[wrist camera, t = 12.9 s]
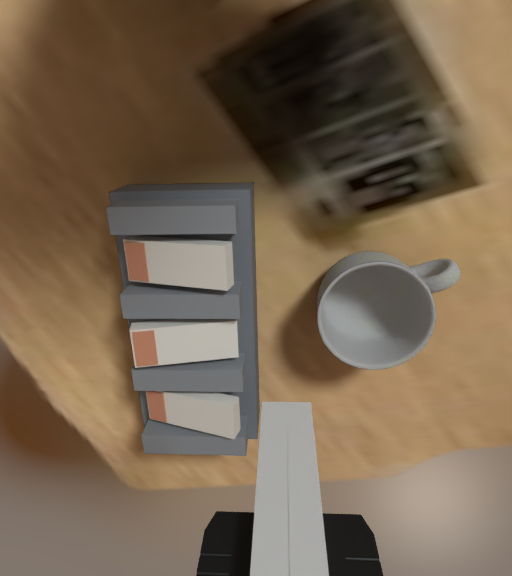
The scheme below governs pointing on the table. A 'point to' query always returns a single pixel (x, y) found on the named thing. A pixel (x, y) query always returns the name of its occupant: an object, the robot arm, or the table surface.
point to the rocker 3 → (196, 411)
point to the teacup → (380, 308)
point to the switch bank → (194, 303)
